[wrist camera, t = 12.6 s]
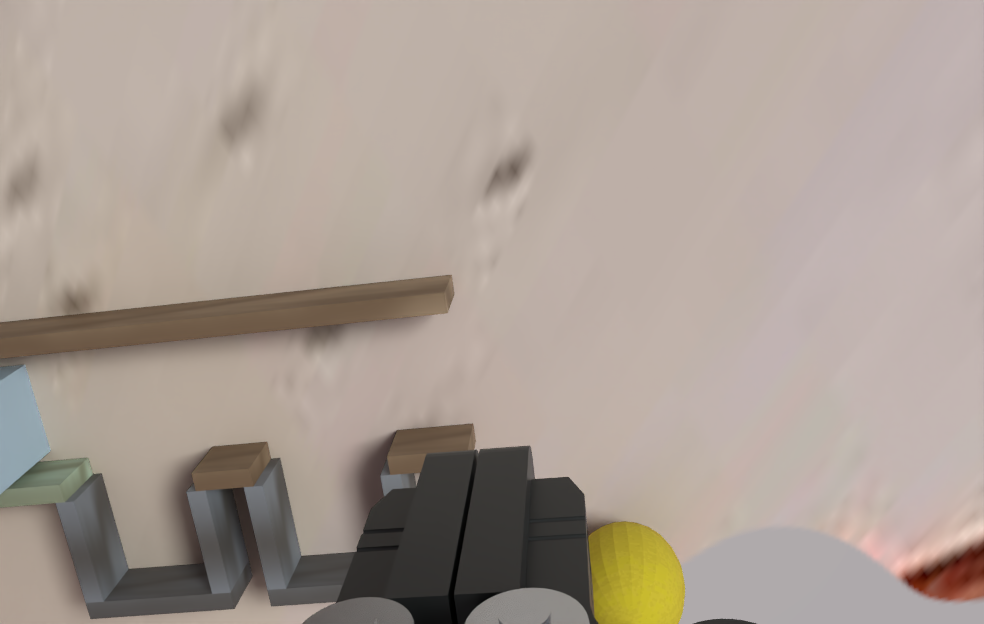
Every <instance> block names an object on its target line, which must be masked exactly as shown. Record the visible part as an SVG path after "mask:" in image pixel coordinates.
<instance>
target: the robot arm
mask: <svg viewBox="0 0 984 624" xmlns="http://www.w3.org/2000/svg"><path fill="white" fill-rule="evenodd" d="M302 624H599V623H598V622H597V621H596V619H595V616H594V599H593V584H592V573H591V562H590V552H589V541H588V530H587V519H586V509H585V498H584V494H583V493H582V491H581V490H580V489H579V488H578V487H577V486H576V485H575V484H574V483H573V481H572V480H571V479H570V478H569V477H560V478H545V479H535V475H534V466H533V458H532V452H531V447H530V446H519V447H505V448H491V449H480V451H479V453H478V451H477V450H465V451H451V452H437V453H427V454H426V457H425V460H424V463H423V467H422V470H421V473H420V477H419V480H418V483H417V487H416V488H401V489H392V490H391V491H390V492H389V493H388V494H387V495H386V496H384V497H383V498H382V499H381V500H380V501H379V502H378V503H377V504H376V505H375V506H374V507H373V508H372V509H371V511H370V513H369V516H368V519H367V522H366V524H365V527H364V530H363V534H362V535H361V538H360V540H359V543H358V546H357V552H355V554H354V556H353V559H352V562H351V564H350V567H349V570H348V572H347V575H346V578H345V580H344V583H343V586H342V588H341V591H340V594H339V596H338V599H337V602H336V603H335V604H332V605H330V606H328V607H326V608H324V609H321V610H320V611H318V612H316V613H315V614H313V615H312V616H310V617H309V618H308V619H307V620H306V621H304V622H303V623H302ZM694 624H756V623H752V622H748V621H743V620H735V619H713V620H707V621H701V622H697V623H694Z"/></svg>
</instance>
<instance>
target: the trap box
mask: <svg viewBox="0 0 984 624" xmlns="http://www.w3.org/2000/svg"><path fill="white" fill-rule="evenodd" d="M453 297H454V289H453V282H452V275H446V276H436V277H427V278H417V279H408V280H398V281H389V282H379V283H370V284H361V285H351V286H342V287H332V288H323V289H313V290H304V291H294V292H285V293H275V294H266V295H256V296H247V297H237V298H228V299H219V300H209V301H200V302H190V303H181V304H171V305H162V306H152V307H143V308H133V309H124V310H114V311H105V312H95V313H86V314H77V315H67V316H58V317H48V318H39V319H29V320H20V321H10V322H1V323H0V358H10V357H20V356H30V355H40V354H50V353H60V352H69V351H79V350H89V349H99V348H109V347H119V346H129V345H138V344H148V343H158V342H168V341H178V340H188V339H198V338H208V337H217V336H227V335H237V334H247V333H257V332H267V331H277V330H286V329H296V328H306V327H316V326H326V325H336V324H346V323H356V322H365V321H375V320H385V319H395V318H405V317H415V316H425V315H434V314H444V313H448V310H449V308H450V305H451V302H452V299H453ZM475 442H476V440H475V433H474V426H473V424H463V425H452V426H441V427H430V428H418V429H407V430H397V432H396V435H395V437H394V440H393V442H392V445H391V448H390V450H389V453H388V456H387V460H386V462H385V465H384V468H383V470H382V473H381V475H380V477H381V482H382V488H383V493H384V496H386V495H387V494H388V493H389V492H390V491H391V490H392V489H401V488H416V482H415V476H414V473H421V470H422V467H423V463H424V460H425V457H426V454H427V453H437V452H451V451H465V450H474V448H475ZM191 474H192V478H193V482H194V483H193V484H192V485H191V487H190V488H189V489H188V491H187V492H186V493H187V497H188V501H189V505H190V509H191V512H192V516H193V520H194V524H195V528H196V532H197V536H198V540H199V544H200V548H201V552H202V556H203V560H204V564H192V565H179V566H165V567H152V568H139V569H128V565H127V562H126V558H125V555H124V551H123V548H122V544H121V541H120V537H119V534H118V530H117V527H116V523H115V519H114V516H113V512H112V509H111V505H110V502H109V498H108V495H107V491H106V488H105V484H104V481H103V477H102V474H93V473H92V470H91V466H90V463H89V459H88V458H80V459H69V460H57V461H46V462H37V463H36V464H35V465H34V466H33V467H31V468H30V469H29V470H28V471H27V472H26V473H24V474H23V475H22V476H21V477H20V478H19V479H18V480H16V481H15V482H14V483H13V484H12V485H11V486H9V487H8V488H7V489H6V490H5V491H4V492H3V493H1V494H0V508H2V507H14V506H26V505H38V504H50V503H56V506H57V510H58V513H59V516H60V519H61V523H62V526H63V529H64V533H65V536H66V539H67V543H68V546H69V549H70V553H71V556H72V559H73V562H74V566H75V569H76V572H77V576H78V579H79V582H80V586H81V589H82V592H83V595H84V599H85V602H86V605H87V609H88V612H89V615H90V619H97V618H111V617H126V616H140V615H154V614H169V613H183V612H197V611H212V610H226V609H235V607H236V605H237V603H238V602H239V600H240V598H241V596H242V594H243V592H244V591H245V589H246V587H247V585H248V583H249V581H250V579H251V578H252V572H251V567H250V563H249V559H248V555H247V551H246V546H245V542H244V538H243V534H242V529H241V525H240V521H239V517H238V513H237V508H236V504H235V500H234V496H233V492H232V488H241V487H244V491H245V495H246V500H247V504H248V508H249V513H250V517H251V521H252V525H253V530H254V534H255V538H256V543H257V547H258V551H259V556H260V560H261V564H262V568H263V573H264V577H265V581H266V586H267V590H268V594H269V599H270V603H271V606H283V605H298V604H312V603H326V602H337V599H338V596H339V594H340V591H341V588H342V586H343V583H344V580H345V578H346V575H347V572H348V570H349V567H350V564H351V562H352V559H353V556H354V554H355V552H351V553H338V554H325V555H312V556H301V552H300V548H299V543H298V539H297V534H296V529H295V525H294V520H293V516H292V511H291V506H290V502H289V497H288V493H287V488H286V483H285V479H284V474H283V469H282V465H281V460H280V458H276V459H271V457H270V452H269V448H268V443H267V442H260V443H249V444H238V445H227V446H215V447H212V448H211V449H210V451H209V452H208V453H207V454H206V456H205V457H204V458H203V460H202V461H201V462H200V463H199V465H198V466H197V467H196V468H195V470H194V471H193V472H192V473H191Z"/></svg>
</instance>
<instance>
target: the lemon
mask: <svg viewBox="0 0 984 624" xmlns="http://www.w3.org/2000/svg"><path fill="white" fill-rule="evenodd" d="M588 541H589V552H590V562H591V573H592V584H593V599H594V616H595V619H596V621H597V622H598V623H599V624H678V623H679V621H680V618H681V615H682V612H683V606H684V597H685V584H684V578H683V573H682V568H681V565H680V563H679V560H678V559H677V557H676V555H675V553H674V551H673V549H672V547H671V546H670V545H669V544H668V543H667V542H666V541H665V539H664V538H663V537H662V536H661V535H660V534H658V533H657V532H655V531H654V530H652V529H651V528H649V527H647V526H644V525H641V524H638V523H634V522H625V521H624V522H614V523H611V524H608V525H605V526H602V527H600V528H599V529H597V530H596V531H594V532H593V533H591V534H590V535H589V536H588Z"/></svg>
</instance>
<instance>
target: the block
mask: <svg viewBox="0 0 984 624" xmlns="http://www.w3.org/2000/svg"><path fill="white" fill-rule="evenodd" d="M50 451H51V450H50V447H49V443H48V440H47V437H46V433H45V430H44V427H43V423H42V420H41V417H40V413H39V410H38V406H37V403H36V400H35V396H34V393H33V390H32V386H31V383H30V380H29V376H28V373H27V370H26V366H25V365H16V366H6V367H0V494H1V493H3V492H4V491H5V490H6V489H7V488H8V487H9V486H11V485H12V484H13V483H14V482H15V481H16V480H18V479H19V478H20V477H21V476H22V475H23V474H24V473H26V472H27V471H28V470H29V469H30V468H31V467H33V466H34V465H35V464H36V463H37V462H38V461H39V460H41V459H42V458H43V457H44V456H45V455H46V454H48V453H49V452H50Z"/></svg>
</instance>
